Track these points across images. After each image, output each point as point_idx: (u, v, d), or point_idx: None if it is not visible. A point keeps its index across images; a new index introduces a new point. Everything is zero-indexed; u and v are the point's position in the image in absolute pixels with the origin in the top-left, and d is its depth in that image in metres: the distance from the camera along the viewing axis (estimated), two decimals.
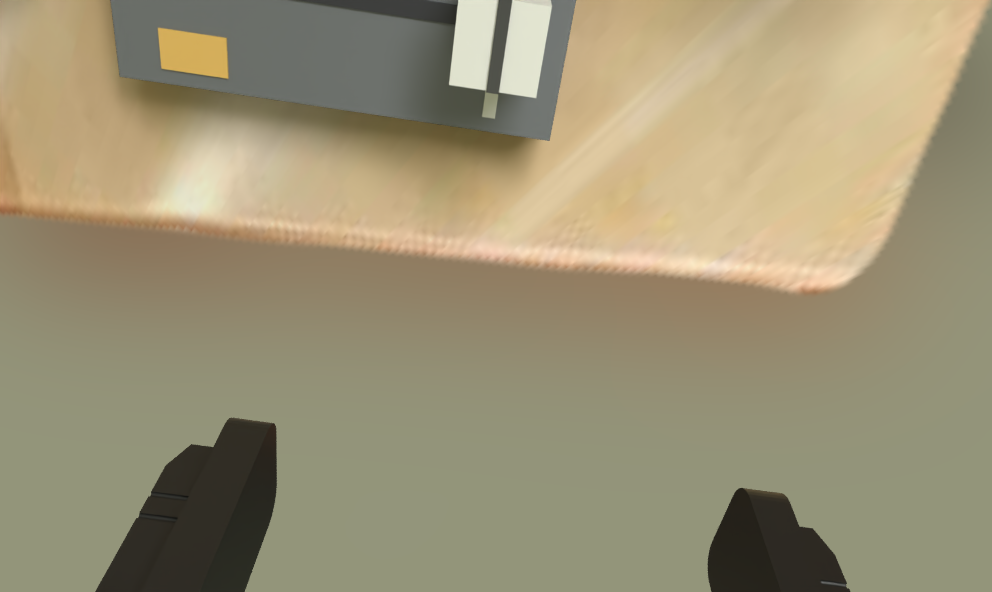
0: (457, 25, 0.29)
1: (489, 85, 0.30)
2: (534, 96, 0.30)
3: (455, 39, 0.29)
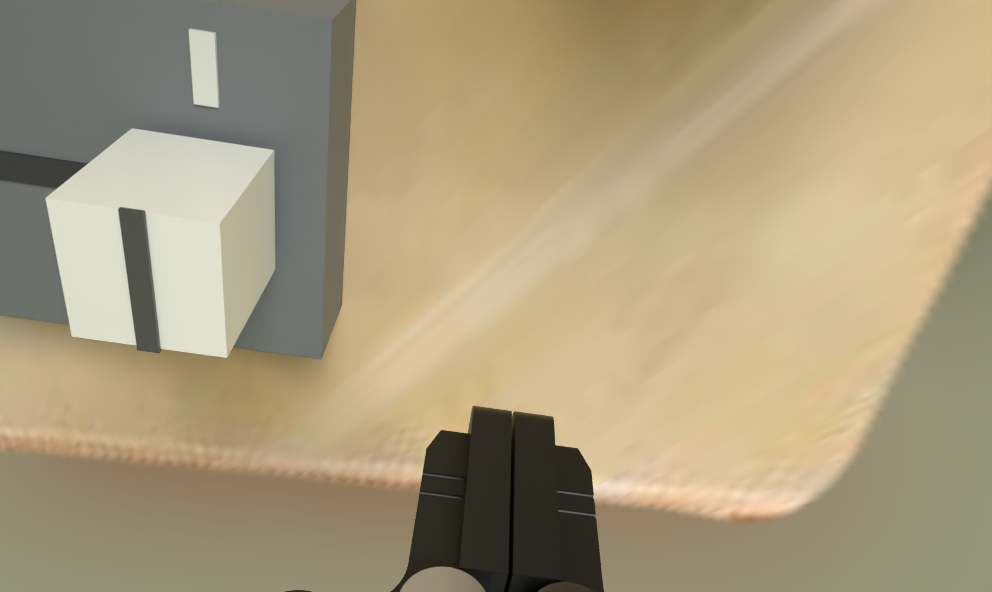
0: (58, 249, 0.16)
1: (139, 340, 0.17)
2: (225, 353, 0.17)
3: (61, 270, 0.16)
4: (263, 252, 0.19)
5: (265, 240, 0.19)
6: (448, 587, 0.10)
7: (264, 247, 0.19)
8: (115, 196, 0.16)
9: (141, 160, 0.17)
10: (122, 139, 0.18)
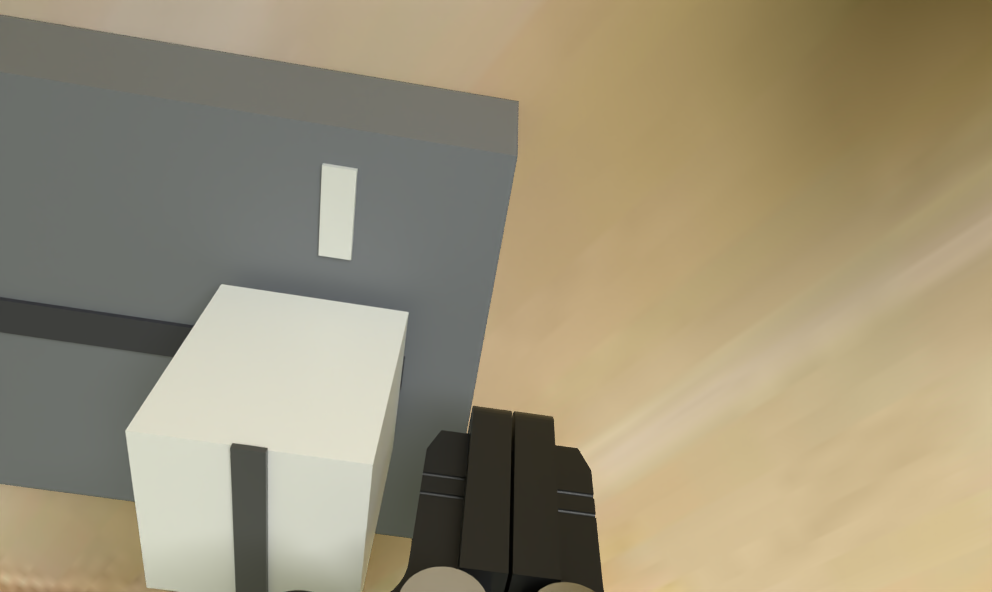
0: (138, 490, 0.11)
1: None
2: None
3: (140, 514, 0.12)
4: (390, 443, 0.15)
5: (392, 426, 0.15)
6: (448, 587, 0.10)
7: (390, 435, 0.15)
8: (221, 419, 0.11)
9: (243, 343, 0.13)
10: (210, 303, 0.14)
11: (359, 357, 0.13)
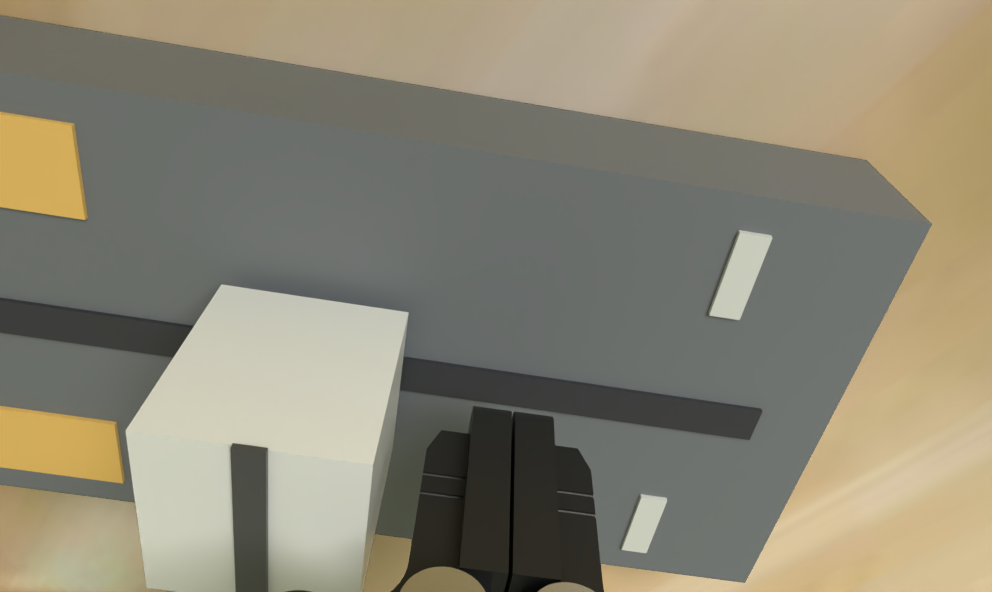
0: (138, 490, 0.11)
1: None
2: None
3: (140, 514, 0.12)
4: (390, 443, 0.15)
5: (392, 427, 0.15)
6: (448, 587, 0.10)
7: (390, 436, 0.15)
8: (221, 419, 0.11)
9: (243, 343, 0.13)
10: (211, 303, 0.14)
11: (359, 357, 0.13)
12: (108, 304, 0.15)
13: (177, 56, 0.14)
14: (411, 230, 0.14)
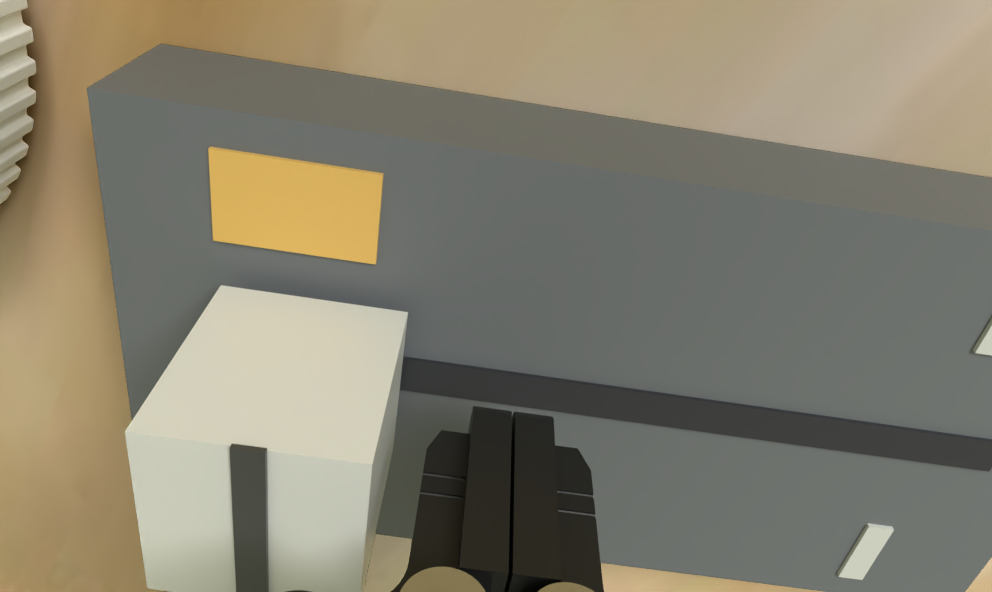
0: (138, 491, 0.11)
1: None
2: None
3: (140, 515, 0.12)
4: (390, 443, 0.15)
5: (392, 426, 0.15)
6: (448, 587, 0.10)
7: (390, 436, 0.15)
8: (220, 420, 0.11)
9: (243, 344, 0.13)
10: (210, 304, 0.14)
11: (358, 357, 0.13)
12: None
13: (450, 101, 0.15)
14: (694, 273, 0.14)
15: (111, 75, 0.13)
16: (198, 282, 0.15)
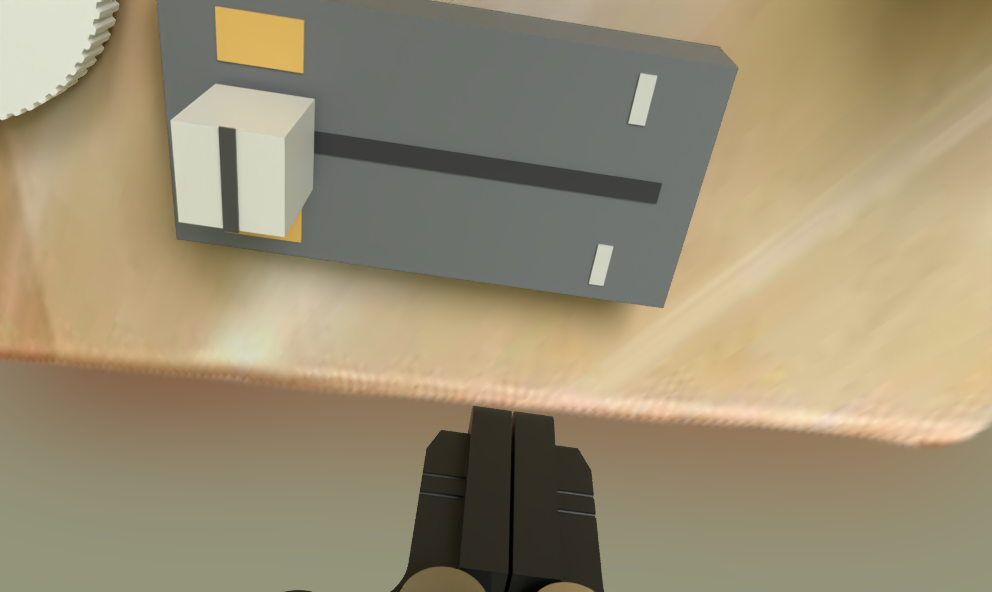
0: (175, 157, 0.24)
1: (225, 223, 0.25)
2: (283, 235, 0.25)
3: (176, 172, 0.24)
4: (306, 171, 0.27)
5: (307, 163, 0.27)
6: (448, 587, 0.10)
7: (307, 168, 0.27)
8: (214, 120, 0.24)
9: (226, 102, 0.25)
10: (209, 90, 0.26)
11: (284, 109, 0.25)
12: None
13: None
14: (471, 76, 0.27)
15: None
16: (209, 87, 0.27)
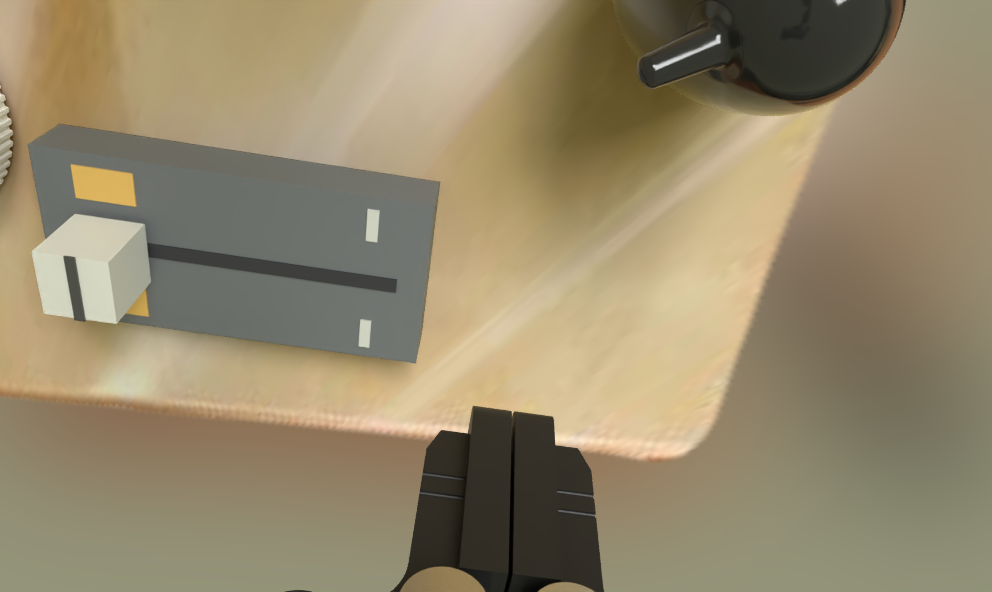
0: (37, 273, 0.36)
1: (75, 315, 0.37)
2: (116, 322, 0.37)
3: (39, 283, 0.36)
4: (140, 273, 0.39)
5: (141, 267, 0.39)
6: (448, 587, 0.10)
7: (141, 271, 0.39)
8: (62, 250, 0.35)
9: (77, 231, 0.37)
10: (69, 219, 0.38)
11: (117, 236, 0.37)
12: None
13: (168, 146, 0.39)
14: (252, 209, 0.38)
15: (37, 139, 0.38)
16: (72, 214, 0.39)
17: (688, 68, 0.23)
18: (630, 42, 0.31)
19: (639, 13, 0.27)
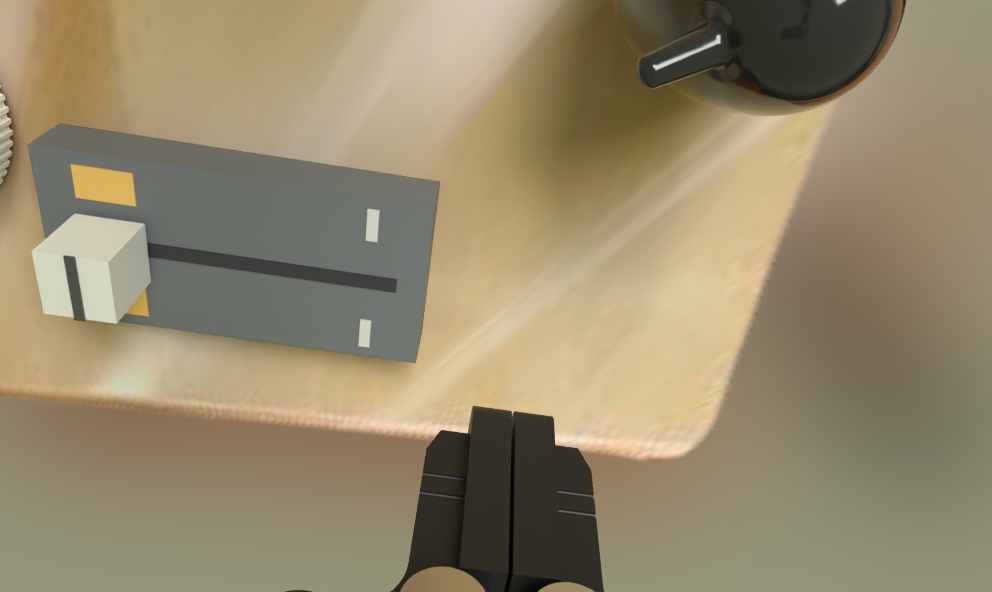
0: (37, 273, 0.36)
1: (75, 315, 0.37)
2: (116, 322, 0.37)
3: (38, 282, 0.36)
4: (140, 273, 0.39)
5: (141, 267, 0.39)
6: (448, 587, 0.10)
7: (141, 271, 0.39)
8: (62, 249, 0.35)
9: (77, 231, 0.37)
10: (69, 219, 0.38)
11: (117, 236, 0.37)
12: None
13: (168, 146, 0.39)
14: (252, 209, 0.38)
15: (37, 138, 0.38)
16: (72, 214, 0.39)
17: (688, 68, 0.23)
18: (630, 42, 0.31)
19: (639, 13, 0.27)
